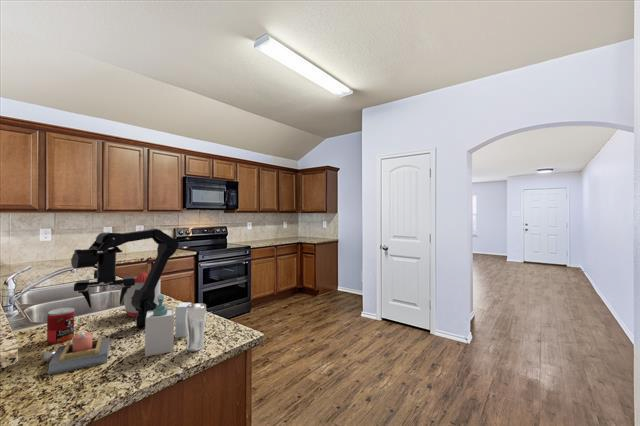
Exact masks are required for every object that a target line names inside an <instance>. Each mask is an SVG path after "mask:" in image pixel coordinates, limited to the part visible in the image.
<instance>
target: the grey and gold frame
mask: <svg viewBox="0 0 640 426" xmlns="http://www.w3.org/2000/svg"><path fill="white" fill-rule="evenodd" d="M110 343H111V337H105V338H103V337H102V336H101V337H98V338H97V339H92V349H90V350H84V351H79V352H73V342H67V343H66V344H65V345H61V346H60V345H59V346H58V347H57V349H56V350H55V351H47V352H43V354H42V362H45V361H46V362H47V361H50V362H49V363H48V375H53V374H58V373H62V372H68V371H71V370H72V371H73V370H78V369H81V368H87V367H91V366H96V365H101V364H105V363H108V360H109V352H110V345H111V344H110Z"/></svg>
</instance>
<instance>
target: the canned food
mask: <svg viewBox="0 0 640 426" xmlns="http://www.w3.org/2000/svg"><path fill="white" fill-rule="evenodd" d="M75 315H76V313H75V308H74V307H61V308H60V307H59V308H55V309H52V310H50V311H48V312H47V316H46V317H47V319H46V324H47V325H46V326H47V327H46V341H47V343H48V344H51V345H54V344H55V345H56V344H61V343H66V342H68V341H70V340H73V337H75Z"/></svg>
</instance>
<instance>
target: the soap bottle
mask: <svg viewBox="0 0 640 426" xmlns="http://www.w3.org/2000/svg"><path fill="white" fill-rule="evenodd" d="M164 296H165V295H164V294H163V293H160V294H159V295H158V302H159V304H158V305H157V306H156V309H154V310H153V311H147V315H146V322H145V328H144V331H145V332H144V357H150V356H155V355H162V354H167V353H173V352H174V340H175V335H174V334H175V328H174V327H175V310H174V309H175V308H173V307H171V308H167V307H166V304H163V302H164V299H165V298H164Z"/></svg>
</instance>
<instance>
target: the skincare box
mask: <svg viewBox="0 0 640 426" xmlns="http://www.w3.org/2000/svg"><path fill="white" fill-rule="evenodd" d="M190 304H192V302H180V303H179V304H178V305H176V306H175V314H174V327H175V328H174V334H175V335H174V338H187V330H186V323H185V317H186V307H187V306H188V305H190Z"/></svg>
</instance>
